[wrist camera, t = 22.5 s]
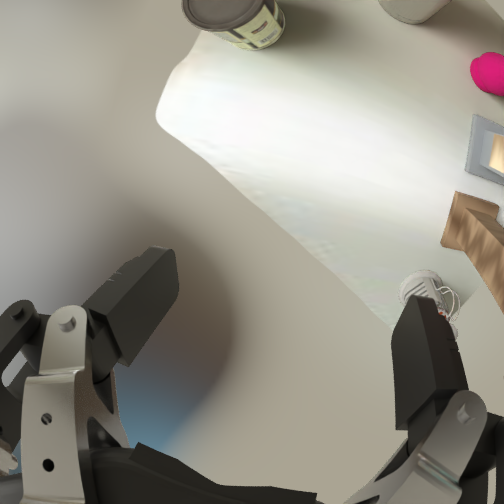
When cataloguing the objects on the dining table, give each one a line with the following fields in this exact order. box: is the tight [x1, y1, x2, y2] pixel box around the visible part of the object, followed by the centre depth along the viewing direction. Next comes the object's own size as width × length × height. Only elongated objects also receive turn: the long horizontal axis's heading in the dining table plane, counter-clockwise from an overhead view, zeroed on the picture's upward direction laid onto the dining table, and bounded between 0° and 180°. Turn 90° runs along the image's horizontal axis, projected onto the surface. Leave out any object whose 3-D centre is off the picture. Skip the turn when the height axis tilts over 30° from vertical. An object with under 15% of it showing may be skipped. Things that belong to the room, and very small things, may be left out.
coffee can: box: [182, 0, 285, 50], centre depth 27 cm, size 10×10×14 cm
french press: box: [398, 270, 460, 341], centre depth 37 cm, size 10×12×25 cm
